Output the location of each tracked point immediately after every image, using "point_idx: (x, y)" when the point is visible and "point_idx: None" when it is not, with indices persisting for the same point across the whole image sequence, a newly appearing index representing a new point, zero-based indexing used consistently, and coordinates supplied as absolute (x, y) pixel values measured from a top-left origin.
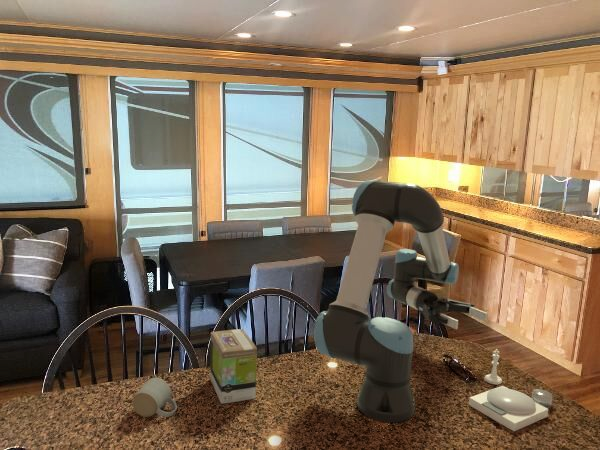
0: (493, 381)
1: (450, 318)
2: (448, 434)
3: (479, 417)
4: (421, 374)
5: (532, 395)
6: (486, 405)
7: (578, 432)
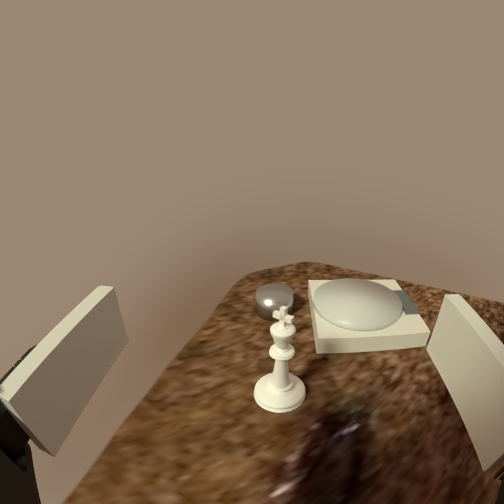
0: (298, 378)
1: (489, 328)
2: (483, 308)
3: (425, 320)
4: (473, 478)
5: (288, 305)
6: (414, 306)
7: (302, 270)
